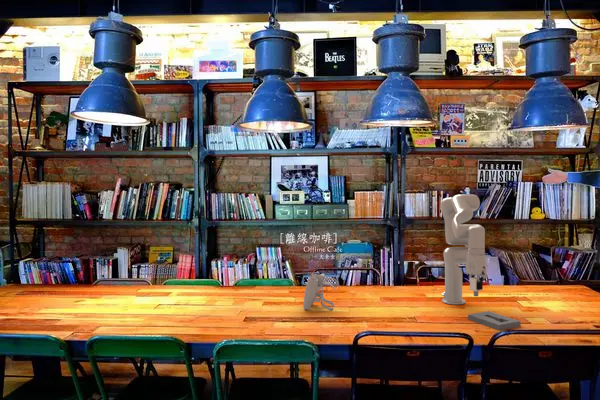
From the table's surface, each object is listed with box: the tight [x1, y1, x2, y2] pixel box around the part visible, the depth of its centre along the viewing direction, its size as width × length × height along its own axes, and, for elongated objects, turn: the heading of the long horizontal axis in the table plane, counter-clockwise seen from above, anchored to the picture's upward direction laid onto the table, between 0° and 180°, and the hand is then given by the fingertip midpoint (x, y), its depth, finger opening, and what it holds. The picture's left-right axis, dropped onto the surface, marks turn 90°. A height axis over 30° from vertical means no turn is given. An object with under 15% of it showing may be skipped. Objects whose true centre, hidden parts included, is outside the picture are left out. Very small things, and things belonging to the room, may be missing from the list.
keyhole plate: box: [467, 310, 522, 331], centre depth 247 cm, size 20×14×2 cm
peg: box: [469, 276, 483, 297], centre depth 246 cm, size 4×4×9 cm
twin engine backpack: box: [303, 271, 341, 311], centre depth 278 cm, size 18×19×20 cm
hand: (476, 288), depth 246 cm, fingers closed on peg, 4 cm apart
